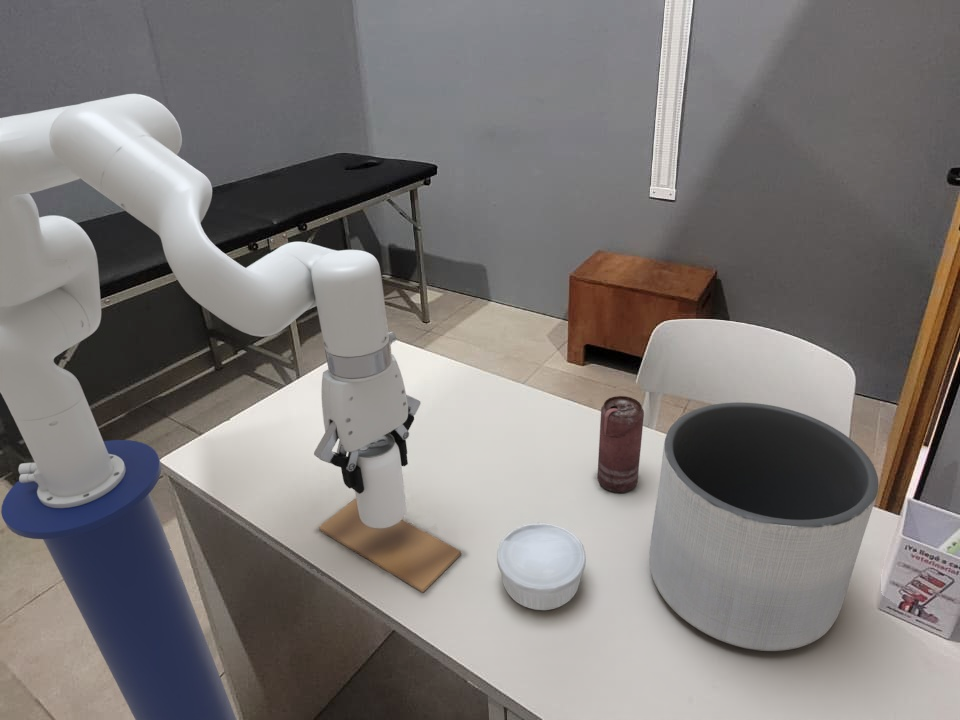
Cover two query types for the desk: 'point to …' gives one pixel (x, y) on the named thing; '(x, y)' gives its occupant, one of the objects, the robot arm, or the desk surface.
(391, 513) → the can
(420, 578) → the board
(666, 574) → the planter
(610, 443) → the can
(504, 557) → the ramekin
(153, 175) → the robot arm
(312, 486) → the desk surface
